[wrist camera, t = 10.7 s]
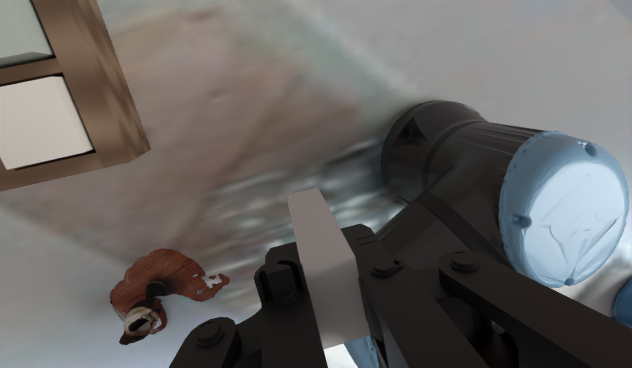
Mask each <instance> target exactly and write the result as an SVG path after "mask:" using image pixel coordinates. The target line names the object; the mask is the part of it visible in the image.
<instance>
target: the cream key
mask: <svg viewBox="0 0 632 368" xmlns="http://www.w3.org/2000/svg"><path fill="white" fill-rule="evenodd" d="M92 149H94V145H93V143H92V141H91V138H90V136H89V133H88V131H87V129H86V126H85V124H84V122H83V119H82V117H81V114H80V112H79V110H78V107H77V105H76V103H75V100H74V98H73V95H72V93H71V91H70V88H69V86H68V84H67V81H66V79H65V77H47V78H42V79H37V80H32V81H27V82H22V83H17V84H12V85H7V86H3V87H0V158H1V160H2V162H3V164H4V166H5V167H6V169H7V170H8V169H12V168H17V167H21V166H26V165H30V164H35V163H39V162H44V161H48V160H53V159H57V158H62V157H66V156H71V155H75V154H80V153H84V152H87V151H89V150H92Z"/></svg>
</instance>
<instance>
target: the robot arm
mask: <svg viewBox="0 0 632 368" xmlns="http://www.w3.org/2000/svg"><path fill="white" fill-rule="evenodd" d="M381 166H382V173H383V177H384V180H385V182H386V184H387V186H388V188H389V189H390V191H391V192H392V193H393V194H394V195H395V196H396V197H397V198H398V199H399V200H400V201H402V202H403V203H404V204H405V205H407V206H406V207H405V208H403V209H402V210H401V211H400V212H399V213H398V214H397V215H395V216H394V217H393V218H392V219H391V220H390V221H389V222H387V223H386V224H385V225H384V226H383V227H382V228H381V229H379V230H378V231H377V232H376V233H375V234H374V232H373V231H372V230H371V228H369V227H367V226H365V225H363V224H357V225H354V226H350V227H346V228H342V229H340V228H339V226H338V224H337V222H336V220H335V218H334V217H333V215H332V213H331V211H330V209H329V207H328V205H327V204H326V202H325V200H324V198H323V196H322V194H321V192H320V191H319V189H318V187H317V188H313V189H309V190H305V191H300V192H296V193H292V194H288V195H286V198H287V202H288V207H289V212H290V216H291V221H292V226H293V230H294V235H295V239H296V242H292V243H288V244H285V245H281V246H277V247H273V248H270V250H269V251H268V253H267V255H266V256H265V265H263V266H261V267H260V268H259V269H258V270H257V271H256V273H255V275H254V281H255V284H256V287H257V290H258V294H259V297H260V300H261V305H262V308H261V309H260V310H259V311H258V312H257V313H256V314H255V315H253V316H252V317H250V318H248V319H247V320H245V321H243V322H241V323H239V324H237V325H236V324H235V322H234V320H232V319H230V318H228V317H218V318H214V319H210V320H208V321H206V322H204V323H202V324H200V325H199V326H197V327H196V328H195V329H193V330H192V331H191V332H190V334H189V335H188V336H187V337H186V339H185V340H184V342H183V344H182V346H181V347H180V349H179V351H178V352H177V354H176V356H175V358H174V359H173V361H172V363H171V365H170V366H169V368H328V366H327V362H326V358H325V354H324V350H323V349H326V348H329V347H333V346H336V345H340V344H343V343H344V345H345V347H346V349H347V351H348V352H349V354H350V356H351V357H352V359H353V361H354V362H355V364H356V365H357V367H358V368H632V329H631V328H629V327H627V326H625V325H623V324H621V323H619V322H617V321H615V320H613V319H611V318H609V317H607V316H605V315H603V314H601V313H599V312H597V311H595V310H593V309H591V308H589V307H587V306H585V305H583V304H581V303H579V302H577V301H575V300H573V299H571V298H569V297H567V296H565V295H563V294H561V293H559V292H557V291H555V290H553V289H551V288H559V287H562V286H563V284H564V285H567V286H571V285H574V284H577V283H579V282H581V281H583V280H585V279H586V278H588V277H589V276H591V275H592V274H593V273H595V272H596V271H597V270H598V269H599V268H600V267H601V266H602V265H603V264H604V263H605V262H606V261H607V259H608V258H609V257H610V256H611V254H612V253H613V251H614V250H615V248H616V246H617V244H618V242H619V241H620V238H621V236H622V234H623V231H624V228H625V225H626V216H627V213H628V209H629V189H628V184H627V180H626V177H625V174H624V172H623V170H622V168H621V166H620V164H619V163H618V161H617V160H616V159H615V158H614V157H613V156H612V154H610V153H609V152H608V151H607V150H605V149H604V148H603V147H601V146H599V145H597V144H595V143H592V142H589V141H586V140H582V139H578V138H574V137H571V136H568V135H566V134H564V133H561V132H558V131H544V130H537V129H530V128H524V127H517V126H510V125H504V124H497V123H490V122H488V121H486V120H485V119H484V118H483V117H482V116H481V115H480V114H479V113H478V112H477V111H475V110H474V109H472V108H471V107H469V106H467V105H464V104H461V103H457V102H451V101H431V102H426V103H423V104H420V105H418V106H416V107H414V108H412V109H411V110H409V111H408V112H406V113H405V114H404V115H403V116H402V117H401V118H400V119H399V120H398V121H397V122H396V123H395V124H394V126H393V127H392V129H391V130H390V132H389V134H388V136H387V138H386V140H385V143H384V146H383V150H382V157H381ZM549 287H550V288H549Z"/></svg>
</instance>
